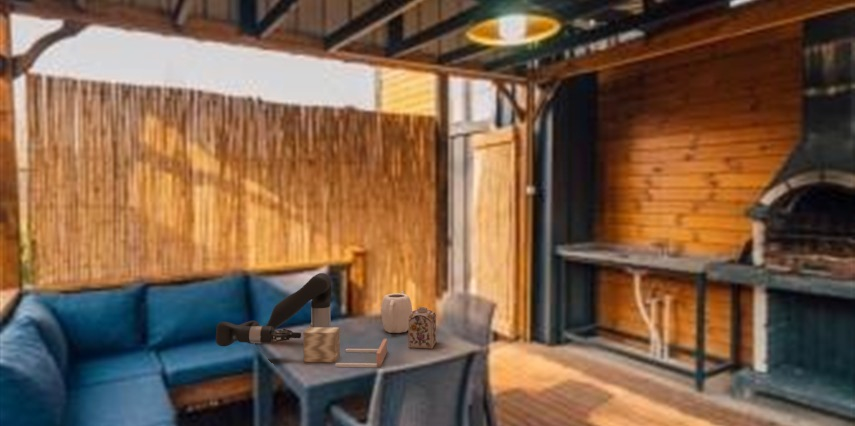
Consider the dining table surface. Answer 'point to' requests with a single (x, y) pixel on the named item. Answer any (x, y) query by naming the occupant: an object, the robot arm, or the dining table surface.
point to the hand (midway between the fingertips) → (300, 335)
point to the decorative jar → (422, 328)
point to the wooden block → (321, 344)
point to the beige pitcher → (396, 312)
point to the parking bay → (379, 352)
